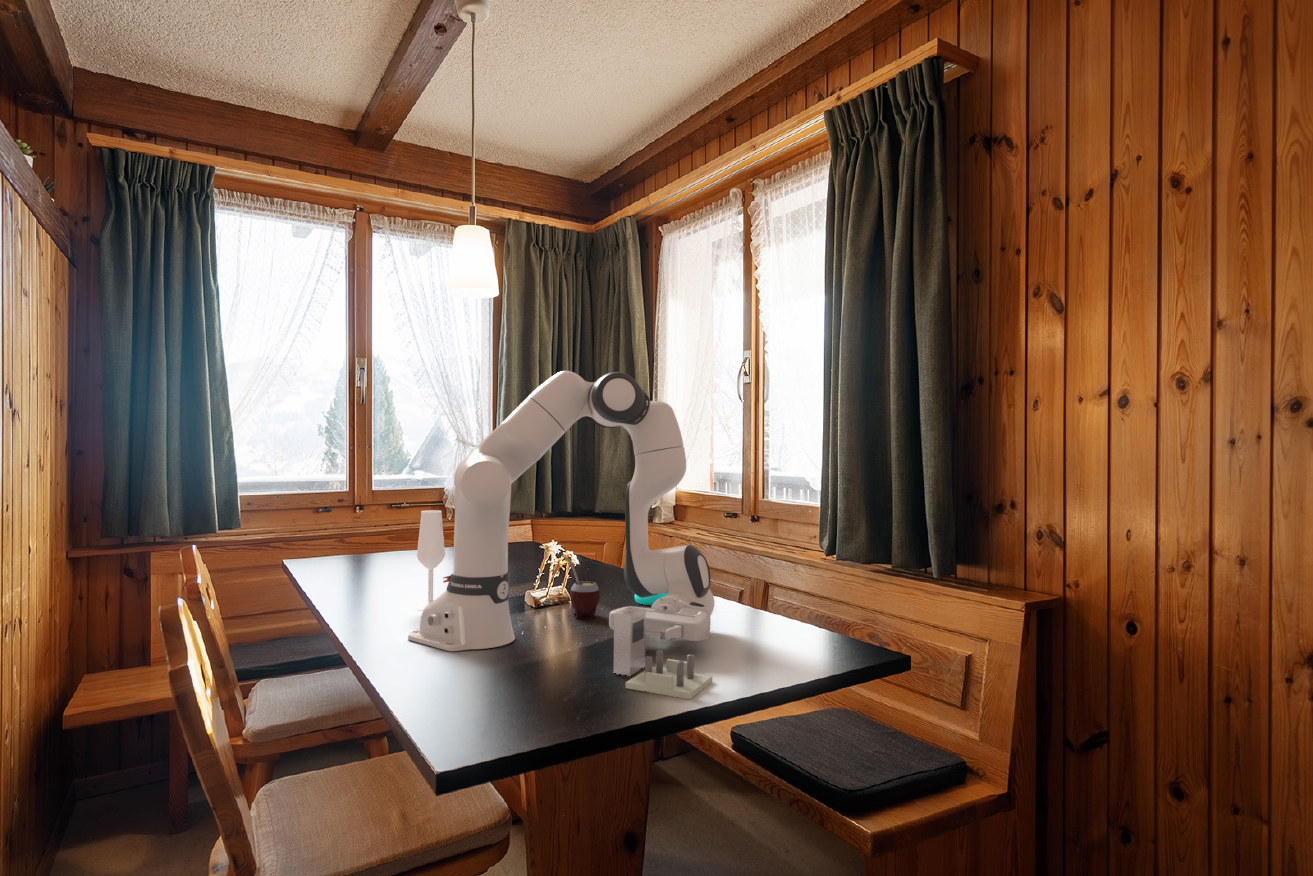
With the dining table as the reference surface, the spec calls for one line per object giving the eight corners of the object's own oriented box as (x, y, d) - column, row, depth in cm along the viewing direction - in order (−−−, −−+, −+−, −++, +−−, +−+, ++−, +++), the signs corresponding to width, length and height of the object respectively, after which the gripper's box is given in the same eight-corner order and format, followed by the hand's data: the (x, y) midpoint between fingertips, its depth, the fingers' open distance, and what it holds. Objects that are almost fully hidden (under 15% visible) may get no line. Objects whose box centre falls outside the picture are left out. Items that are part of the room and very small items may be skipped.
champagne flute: (419, 605, 191) (420, 509, 191) (446, 604, 191) (447, 509, 191) (413, 611, 184) (414, 512, 184) (442, 610, 185) (443, 512, 185)
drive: (613, 673, 138) (614, 613, 138) (628, 664, 143) (629, 606, 143) (630, 676, 136) (630, 615, 136) (645, 667, 142) (645, 608, 142)
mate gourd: (605, 616, 182) (605, 553, 181) (585, 622, 175) (585, 557, 175) (580, 611, 186) (581, 550, 185) (560, 618, 179) (560, 554, 179)
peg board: (625, 688, 130) (625, 659, 130) (651, 672, 139) (651, 644, 139) (689, 699, 125) (690, 669, 125) (712, 681, 134) (712, 653, 134)
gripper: (627, 596, 161) (594, 609, 149) (717, 607, 152) (690, 621, 140) (626, 626, 161) (593, 641, 149) (716, 638, 152) (689, 656, 140)
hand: (641, 632), depth 144 cm, fingers open, 8 cm apart
